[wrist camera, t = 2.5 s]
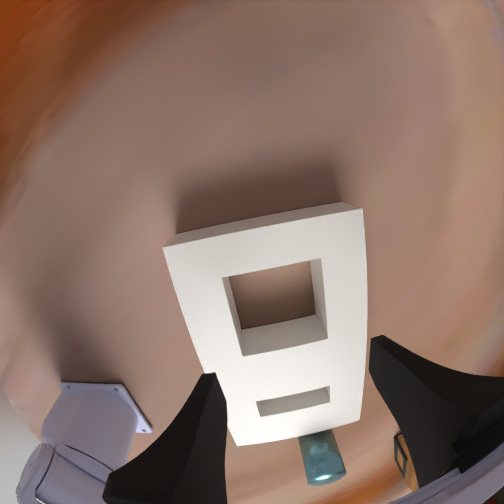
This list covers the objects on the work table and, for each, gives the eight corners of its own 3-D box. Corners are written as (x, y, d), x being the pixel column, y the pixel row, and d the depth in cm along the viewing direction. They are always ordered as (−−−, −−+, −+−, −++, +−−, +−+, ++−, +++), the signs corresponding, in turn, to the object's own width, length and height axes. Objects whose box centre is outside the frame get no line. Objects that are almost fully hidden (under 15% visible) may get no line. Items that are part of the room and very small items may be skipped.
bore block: (236, 420, 24) (237, 445, 21) (175, 234, 19) (162, 247, 15) (349, 396, 24) (359, 419, 21) (341, 201, 19) (362, 208, 15)
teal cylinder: (298, 442, 26) (308, 488, 20) (296, 425, 25) (307, 475, 19) (330, 434, 26) (345, 479, 20) (330, 417, 25) (347, 465, 19)
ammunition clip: (393, 436, 28) (422, 495, 17) (404, 430, 28) (435, 488, 17) (394, 459, 31) (416, 507, 20) (404, 454, 31) (427, 502, 20)
